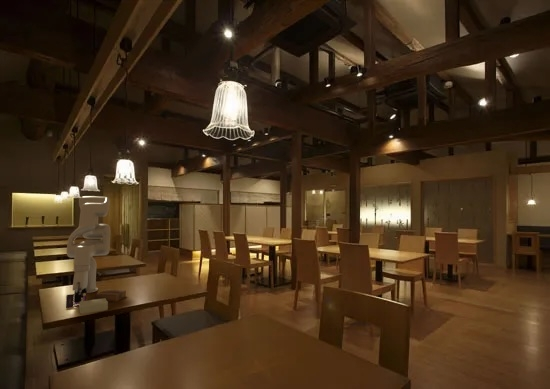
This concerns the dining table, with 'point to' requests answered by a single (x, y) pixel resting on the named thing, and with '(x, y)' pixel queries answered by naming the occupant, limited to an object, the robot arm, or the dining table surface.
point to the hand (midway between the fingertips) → (80, 299)
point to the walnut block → (111, 295)
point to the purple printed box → (71, 300)
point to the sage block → (93, 305)
